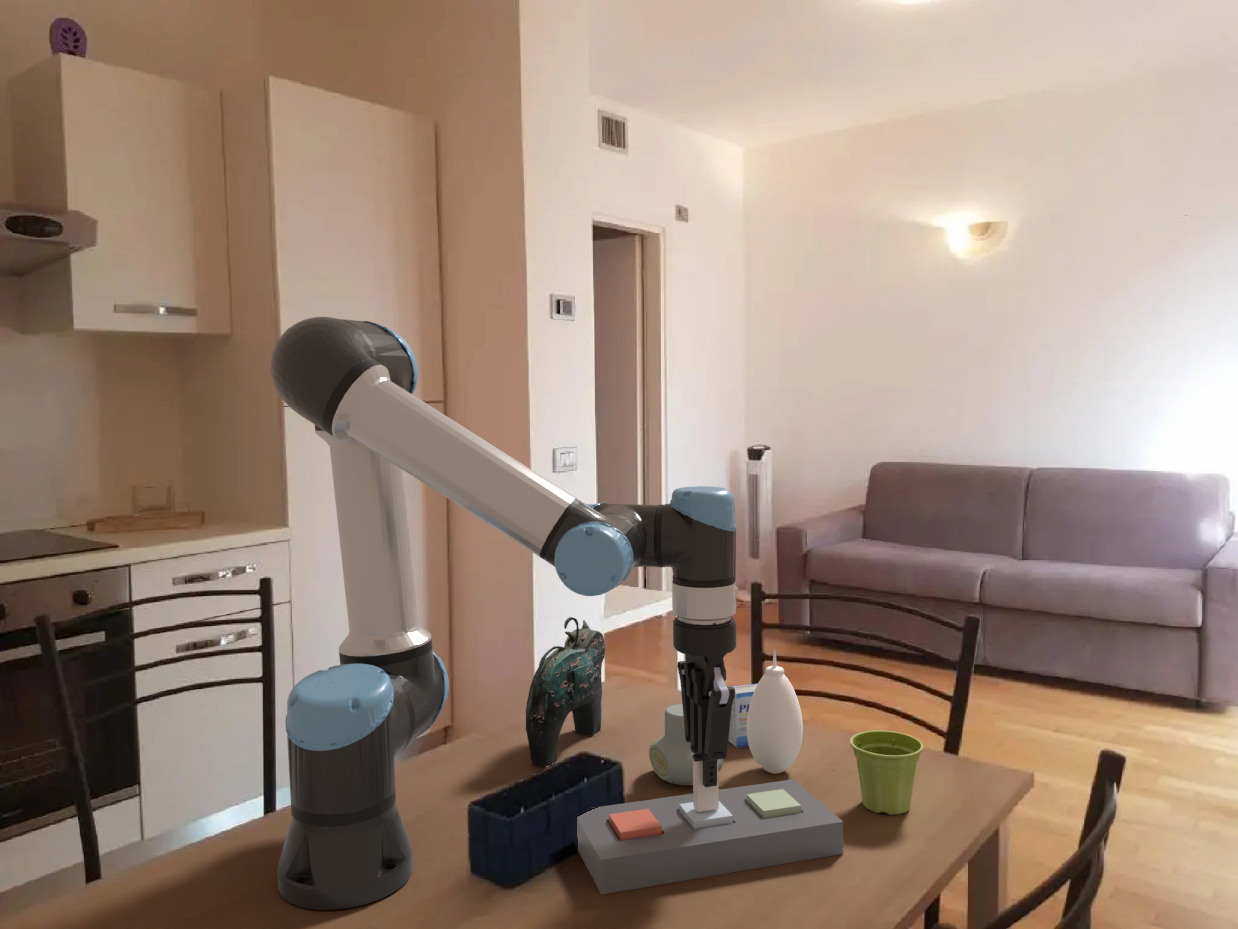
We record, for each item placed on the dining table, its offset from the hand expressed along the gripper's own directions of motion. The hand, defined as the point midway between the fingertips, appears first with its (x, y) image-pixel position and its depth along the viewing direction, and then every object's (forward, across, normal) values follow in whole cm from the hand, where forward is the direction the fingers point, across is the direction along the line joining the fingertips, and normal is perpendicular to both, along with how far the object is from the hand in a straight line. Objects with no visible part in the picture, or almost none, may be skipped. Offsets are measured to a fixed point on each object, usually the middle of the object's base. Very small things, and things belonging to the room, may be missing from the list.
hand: (705, 807), depth 118 cm
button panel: (+5, 0, 0) cm, 5 cm away
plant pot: (+5, +4, -27) cm, 28 cm away
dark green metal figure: (+5, +38, +8) cm, 39 cm away
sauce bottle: (+5, +18, -18) cm, 26 cm away
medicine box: (+5, +30, -20) cm, 37 cm away
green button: (+3, 0, -9) cm, 10 cm away
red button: (+3, 0, +9) cm, 10 cm away
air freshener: (+5, +20, -5) cm, 22 cm away
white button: (+3, 0, 0) cm, 3 cm away
